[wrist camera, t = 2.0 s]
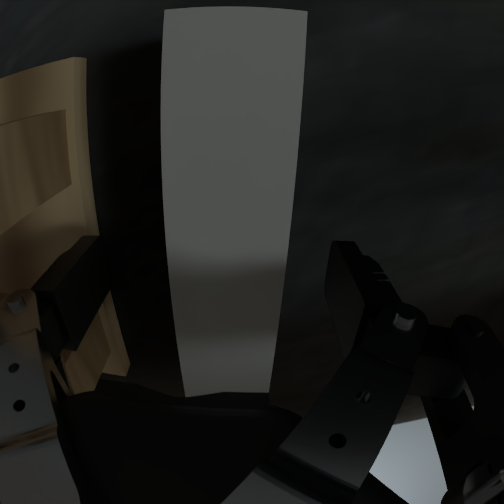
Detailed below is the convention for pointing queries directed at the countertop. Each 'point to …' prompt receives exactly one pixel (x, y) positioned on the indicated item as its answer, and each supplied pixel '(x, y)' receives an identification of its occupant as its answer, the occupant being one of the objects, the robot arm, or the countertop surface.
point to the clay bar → (229, 185)
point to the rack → (52, 199)
